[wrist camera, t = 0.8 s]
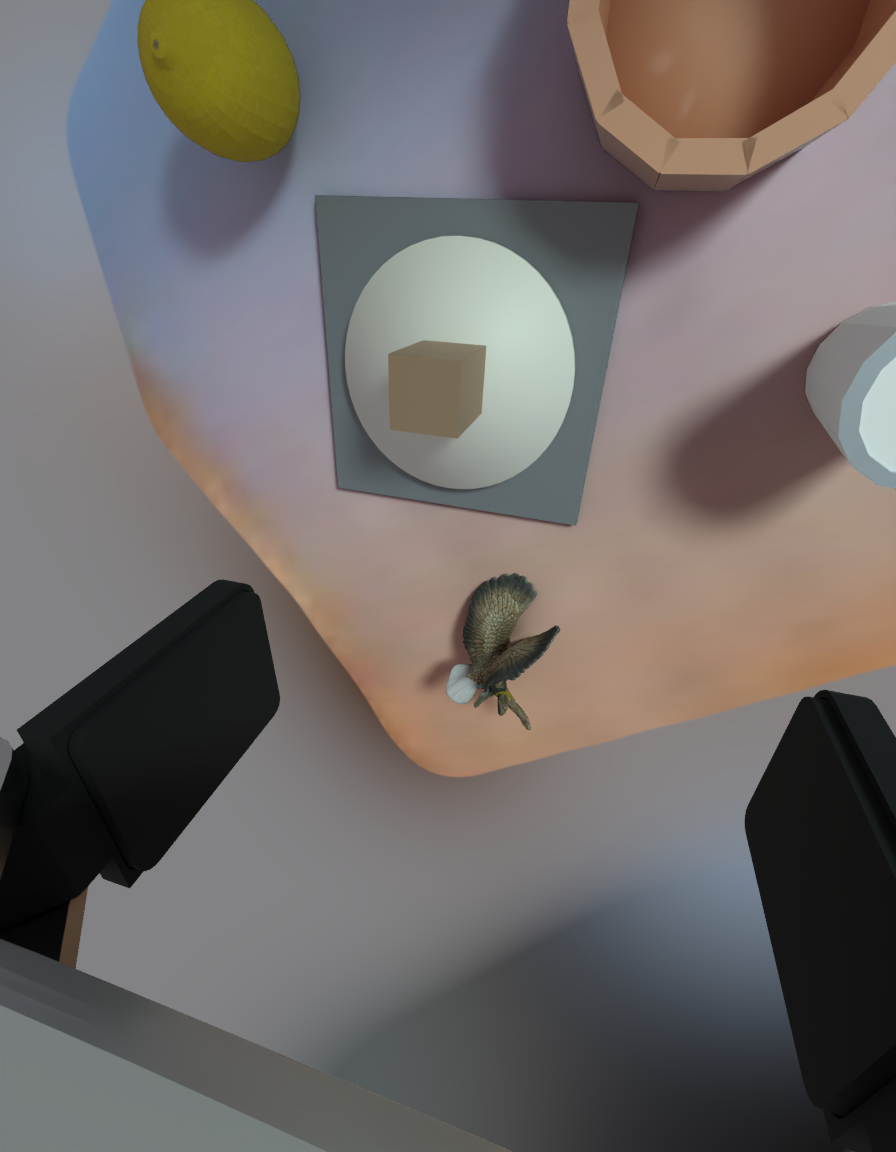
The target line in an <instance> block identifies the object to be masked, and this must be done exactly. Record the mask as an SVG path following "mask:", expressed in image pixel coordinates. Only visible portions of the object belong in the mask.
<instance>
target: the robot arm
mask: <svg viewBox="0 0 896 1152" xmlns="http://www.w3.org/2000/svg"><path fill="white" fill-rule="evenodd" d="M279 702H280V695H279V690H278V685H277V680H276V675H275V670H274V665H273V660H272V655H271V650H270V645H269V640H268V635H267V630H266V625H265V621H264V615H263V610H262V605H261V600H260V598H259V596H258V595H257V594H255V593H254V590H253V589H252V587H251V586H250V585H248V584H244V583H238V582H233V581H227V580H217V581H215V582H213V583H212V584H211V585H209V586H208V587H207V588H205V589H204V590H203V591H201V592H200V593H199V594H197V595H196V596H195V597H193V598H192V599H191V600H190V601H188V602H187V603H185V604H184V605H183V606H181V607H180V608H179V609H178V610H176V611H175V612H173V613H172V614H171V615H169V616H168V617H167V618H165V619H164V620H163V621H161V622H160V623H159V624H157V625H156V626H155V627H153V628H152V629H151V630H149V631H148V632H147V633H145V634H144V635H143V636H141V637H140V638H139V639H137V640H136V641H135V642H133V643H132V644H131V645H129V646H128V647H127V648H125V649H124V650H123V651H121V652H120V653H119V654H117V655H116V656H115V657H113V658H112V659H111V660H109V661H108V662H107V663H105V664H104V665H103V666H101V667H100V668H99V669H97V670H96V671H95V672H93V673H92V674H91V675H89V676H88V677H87V678H85V679H84V680H83V681H81V682H80V683H79V684H77V685H76V686H75V687H73V688H72V689H71V690H69V691H68V692H67V693H65V694H64V695H63V696H61V697H60V698H59V699H57V700H56V701H55V702H53V703H52V704H51V705H49V706H48V707H47V708H45V709H44V710H43V711H41V712H40V713H39V714H37V715H36V716H35V717H33V718H32V719H31V720H29V721H28V722H27V723H25V724H24V725H23V726H22V727H20V728H19V729H17V731H18V733H19V735H20V737H21V738H22V740H23V742H24V743H23V744H22V745H21V746H19V747H18V748H17V749H16V750H13V748H12V747H11V745H10V744H9V742H8V741H7V740H5V739H3V738H0V1152H512V1151H509V1150H507V1149H505V1148H503V1147H500V1146H498V1145H496V1144H493V1143H491V1142H489V1141H486V1140H484V1139H481V1138H479V1137H477V1136H474V1135H472V1134H470V1133H467V1132H465V1131H463V1130H460V1129H458V1128H455V1127H453V1126H451V1125H448V1124H446V1123H444V1122H441V1121H439V1120H437V1119H434V1118H432V1117H429V1116H427V1115H425V1114H422V1113H420V1112H418V1111H415V1110H413V1109H410V1108H408V1107H406V1106H403V1105H401V1104H398V1103H396V1102H394V1101H391V1100H389V1099H387V1098H384V1097H382V1096H379V1095H377V1094H375V1093H372V1092H370V1091H367V1090H365V1089H363V1088H360V1087H358V1086H356V1085H353V1084H351V1083H348V1082H346V1081H344V1080H341V1079H339V1078H336V1077H334V1076H332V1075H329V1074H327V1073H325V1072H322V1071H320V1070H318V1069H315V1068H313V1067H310V1066H308V1065H305V1064H303V1063H301V1062H298V1061H296V1060H294V1059H291V1058H289V1057H286V1056H284V1055H282V1054H279V1053H277V1052H274V1051H272V1050H270V1049H267V1048H265V1047H263V1046H260V1045H258V1044H255V1043H253V1042H251V1041H248V1040H246V1039H243V1038H241V1037H239V1036H236V1035H234V1034H232V1033H229V1032H227V1031H224V1030H222V1029H220V1028H217V1027H215V1026H212V1025H210V1024H208V1023H205V1022H203V1021H200V1020H198V1019H195V1018H193V1017H191V1016H188V1015H185V1014H184V1013H181V1012H178V1011H176V1010H174V1009H171V1008H169V1007H167V1006H164V1005H161V1004H159V1003H157V1002H154V1001H152V1000H150V999H147V998H145V997H142V996H140V995H137V994H135V993H133V992H130V991H128V990H125V989H123V988H121V987H118V986H116V985H113V984H111V983H108V982H106V981H103V980H101V979H99V978H96V977H94V976H91V975H89V974H87V973H84V972H82V971H79V970H77V969H76V962H77V956H78V949H79V942H80V936H81V929H82V923H83V916H84V910H85V903H86V897H87V890H88V885H89V884H90V883H91V882H92V881H93V880H94V879H95V877H96V876H97V875H98V874H99V873H100V874H101V875H102V878H103V879H105V880H108V881H111V882H114V883H116V884H119V885H122V886H125V887H128V888H130V887H131V886H132V885H133V884H134V882H135V881H136V880H137V879H138V877H139V876H140V875H141V873H142V872H143V871H147V870H150V869H151V868H153V867H154V866H155V865H156V864H157V863H158V862H159V861H160V860H161V858H162V857H163V856H164V854H165V853H166V852H167V851H168V849H169V848H170V847H171V845H172V844H173V843H174V841H176V839H177V837H179V835H180V834H181V833H182V831H183V830H184V829H185V828H186V827H187V825H188V824H189V823H190V822H191V820H192V819H193V818H194V816H195V815H196V814H197V813H198V811H199V810H200V809H201V807H202V806H203V805H204V804H205V803H206V801H207V800H208V798H209V797H210V796H211V795H212V794H213V792H214V791H215V790H216V788H217V787H218V786H219V785H220V783H221V782H222V781H223V780H224V778H225V777H226V776H227V775H228V773H229V772H230V771H231V770H232V768H233V767H234V766H235V764H236V763H237V762H238V761H239V759H240V758H241V757H242V755H243V754H244V753H245V752H246V750H247V749H248V748H249V747H250V745H251V744H252V743H253V742H254V740H255V739H256V738H257V736H258V735H259V734H260V733H261V731H262V730H263V729H264V727H265V726H266V725H267V724H268V723H269V721H270V720H271V719H272V718H273V716H274V715H275V713H276V711H277V709H278V706H279ZM745 831H746V836H747V840H748V845H749V849H750V853H751V857H752V862H753V866H754V870H755V875H756V879H757V883H758V888H759V892H760V896H761V900H762V905H763V909H764V914H765V918H766V922H767V927H768V931H769V935H770V940H771V944H772V948H773V953H774V957H775V961H776V966H777V970H778V974H779V979H780V982H781V987H782V992H783V996H784V1000H785V1004H786V1008H787V1013H788V1017H789V1021H790V1026H791V1030H792V1035H793V1039H794V1043H795V1048H796V1052H797V1056H798V1061H799V1065H800V1069H801V1074H802V1078H803V1082H804V1085H805V1089H806V1092H807V1094H808V1096H809V1098H810V1100H811V1102H812V1103H813V1104H814V1105H815V1106H816V1107H818V1108H820V1109H823V1111H824V1115H825V1119H826V1123H827V1127H828V1131H829V1135H830V1140H831V1143H833V1144H836V1145H839V1146H842V1147H844V1148H847V1149H850V1150H853V1151H855V1152H896V737H895V736H894V734H893V732H892V731H891V729H890V728H889V726H888V724H887V723H886V721H885V719H884V718H883V716H882V714H881V713H880V711H879V709H878V708H877V706H876V705H875V704H874V703H873V701H872V700H870V699H868V698H866V697H861V696H855V695H850V694H844V693H838V692H833V691H828V690H821V691H819V692H818V693H817V694H816V695H815V696H814V698H812V697H804V698H803V699H802V700H801V701H800V703H799V705H798V707H797V709H796V711H795V713H794V715H793V717H792V719H791V721H790V723H789V725H788V727H787V729H786V731H785V733H784V735H783V737H782V739H781V741H780V743H779V745H778V747H777V749H776V751H775V753H774V755H773V757H772V759H771V761H770V763H769V765H768V767H767V769H766V771H765V772H764V774H763V776H762V778H761V781H760V782H759V785H758V787H757V788H756V790H755V792H754V795H753V796H752V799H751V800H750V803H749V804H748V807H747V809H746V814H745Z"/></svg>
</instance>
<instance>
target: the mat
mask: <svg viewBox="0 0 896 1152" xmlns="http://www.w3.org/2000/svg"><path fill="white" fill-rule="evenodd" d="M315 201H316V214H317V227H318V239H319V252H320V265H321V277H322V290H323V303H324V316H325V328H326V341H327V354H328V366H329V379H330V392H331V405H332V417H333V430H334V443H335V455H336V468H337V481H338V487H339V488H345V489H351V490H357V491H364V492H370V493H376V494H382V495H388V496H395V497H401V498H407V499H413V500H420V501H426V502H432V503H438V504H445V505H451V506H457V507H463V508H469V509H476V510H482V511H488V512H494V513H501V514H507V515H513V516H519V517H526V518H532V519H538V520H544V521H550V522H557V523H563V524H569V525H575V526H576V523H577V518H578V513H579V508H580V503H581V497H582V492H583V487H584V482H585V477H586V472H587V467H588V461H589V456H590V451H591V446H592V441H593V436H594V431H595V425H596V420H597V415H598V410H599V405H600V400H601V395H602V389H603V384H604V379H605V374H606V369H607V364H608V359H609V353H610V348H611V343H612V338H613V333H614V328H615V323H616V317H617V312H618V307H619V302H620V297H621V292H622V287H623V281H624V276H625V271H626V266H627V261H628V256H629V250H630V245H631V240H632V235H633V230H634V225H635V220H636V214H637V209H638V204H639V203H630V202H586V201H542V200H498V199H454V198H410V197H366V196H322V195H315ZM441 236H466V237H475V238H481V239H484V240H488V241H491V242H495V243H497V244H499V245H502V246H504V247H506V248H508V249H510V250H512V251H514V252H515V253H517V254H518V255H520V256H521V257H522V258H524V259H525V260H527V261H528V262H529V263H530V264H531V265H532V266H533V267H534V268H536V269H537V270H538V271H539V272H540V273H541V275H542V276H543V277H544V278H545V280H546V281H547V282H548V283H549V284H550V286H551V287H552V289H553V290H554V292H555V294H556V295H557V297H558V299H559V300H560V302H561V304H562V307H563V309H564V311H565V314H566V316H567V318H568V322H569V325H570V329H571V332H572V336H573V343H574V349H575V379H574V388H573V392H572V396H571V401H570V404H569V407H568V410H567V412H566V415H565V418H564V421H563V423H562V425H561V427H560V428H559V430H558V432H557V434H556V436H555V437H554V439H553V440H552V442H551V443H550V445H549V446H548V448H547V449H546V450H545V451H544V452H543V453H542V454H541V455H540V457H539V458H538V459H537V460H536V461H534V462H533V463H532V464H531V465H530V466H529V467H527V468H526V469H525V470H523V471H522V472H520V473H518V474H517V475H515V476H514V477H512V478H509V479H507V480H505V481H503V482H501V483H497V484H494V485H491V486H488V487H482V488H476V489H453V488H446V487H441V486H436V485H433V484H430V483H427V482H425V481H422V480H420V479H418V478H416V477H414V476H412V475H410V474H408V473H407V472H405V471H404V470H402V469H401V468H399V467H398V466H397V465H395V464H394V463H393V462H392V461H391V460H389V459H388V458H387V457H386V456H385V455H384V454H383V453H382V452H381V451H380V450H379V449H378V447H377V446H376V445H375V443H374V442H373V441H372V440H371V438H370V437H369V435H368V434H367V432H366V431H365V429H364V427H363V426H362V424H361V422H360V420H359V418H358V415H357V413H356V411H355V408H354V406H353V403H352V400H351V397H350V393H349V388H348V384H347V378H346V370H345V346H346V336H347V331H348V327H349V322H350V318H351V316H352V313H353V310H354V307H355V305H356V302H357V301H358V299H359V297H360V295H361V293H362V291H363V289H364V288H365V286H366V285H367V283H368V282H369V280H370V279H371V277H372V276H373V275H374V274H375V273H376V272H377V271H378V270H379V268H380V267H381V266H382V265H383V264H384V263H386V262H387V261H388V260H389V259H391V258H392V257H393V256H394V255H396V254H397V253H399V252H400V251H402V250H404V249H406V248H407V247H409V246H411V245H414V244H416V243H419V242H421V241H424V240H427V239H432V238H437V237H441Z"/></svg>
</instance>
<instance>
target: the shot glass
mask: <svg viewBox="0 0 896 1152" xmlns="http://www.w3.org/2000/svg"><path fill="white" fill-rule="evenodd" d="M805 394H806V397H807V399H808V401H809V404H810V406H811V408H812V411H813V413H814V414H815V416H816V417H817V418H818V420H819V421H820V423H821V424H822V426H823V427H824V428H825V430H826V431H827V433H828V434H829V436H830V437H831V438H832V440H833V441H834V443H835V444H836V446H837V447H838V448H839V450H840V451H841V453H842V454H843V455H844V457H845V458H846V460H847V461H848V463H849V464H850V465H851V466H852V467H854V468H855V469H856V470H858V471H859V472H860V473H861V474H863V475H864V476H865V477H867V478H868V479H869V480H871V481H872V482H873V483H875V484H876V485H880V486H884V487H888V488H893V489H896V302H892V303H887V304H882V305H877V306H872V307H869V308H867V309H865V310H864V311H862V312H860V313H858V314H856V315H855V316H853V317H851V318H849V319H847V320H845V321H844V322H842V323H841V324H840V325H839V326H838V327H837V328H836V329H835V330H834V331H833V332H832V333H831V334H830V335H829V336H828V337H827V338H826V339H825V340H824V341H823V342H822V343H821V344H820V345H819V346H818V348H817V350H816V352H815V354H814V356H813V358H812V360H811V362H810V364H809V366H808V368H807V373H806V385H805Z"/></svg>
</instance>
